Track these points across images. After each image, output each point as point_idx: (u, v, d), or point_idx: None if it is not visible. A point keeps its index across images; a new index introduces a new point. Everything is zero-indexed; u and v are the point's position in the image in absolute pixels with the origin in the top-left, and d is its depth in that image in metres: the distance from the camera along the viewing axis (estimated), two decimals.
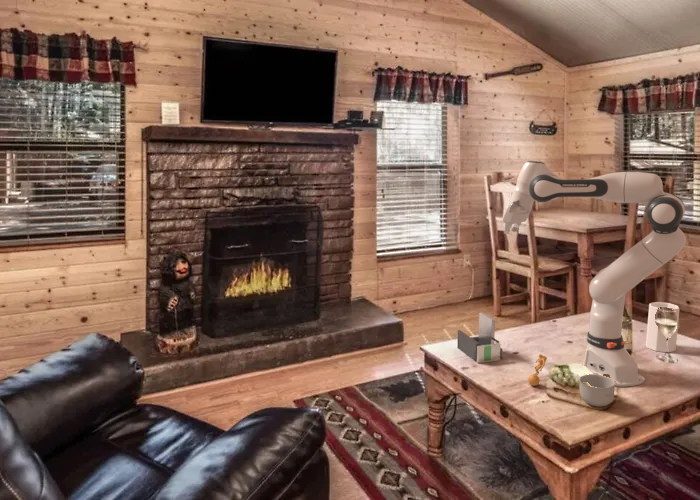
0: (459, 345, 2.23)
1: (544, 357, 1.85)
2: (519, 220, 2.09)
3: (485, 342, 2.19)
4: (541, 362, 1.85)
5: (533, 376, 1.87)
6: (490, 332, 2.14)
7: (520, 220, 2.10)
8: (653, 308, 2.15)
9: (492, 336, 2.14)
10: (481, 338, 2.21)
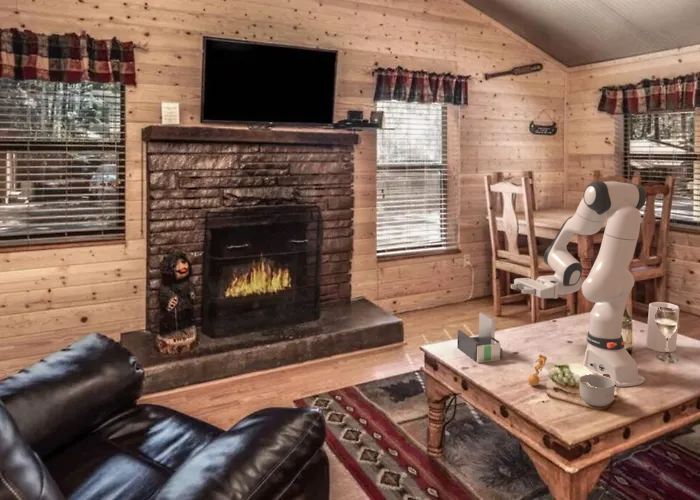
0: (459, 345, 2.23)
1: (544, 357, 1.85)
2: (529, 283, 2.20)
3: (485, 342, 2.19)
4: (541, 362, 1.85)
5: (533, 376, 1.87)
6: (490, 332, 2.14)
7: (531, 284, 2.18)
8: (653, 308, 2.15)
9: (492, 336, 2.14)
10: (481, 338, 2.21)
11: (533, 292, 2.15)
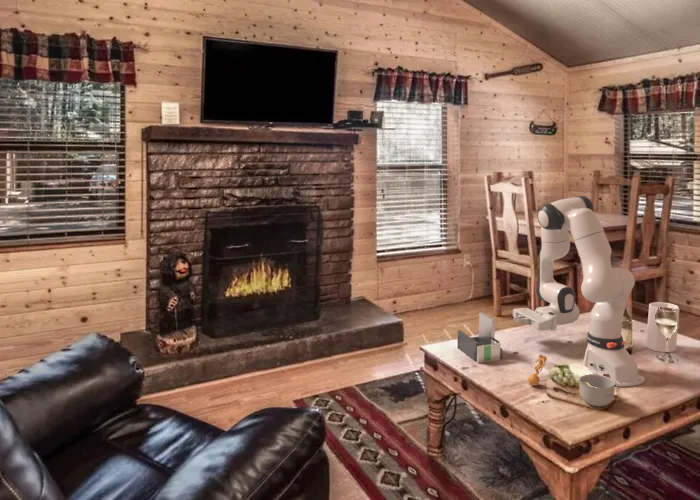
0: (459, 345, 2.23)
1: (544, 357, 1.85)
2: (528, 315, 2.22)
3: (485, 342, 2.19)
4: (541, 362, 1.85)
5: (533, 376, 1.87)
6: (490, 332, 2.14)
7: (529, 316, 2.21)
8: (653, 308, 2.15)
9: (492, 336, 2.14)
10: (481, 338, 2.21)
11: (527, 322, 2.20)
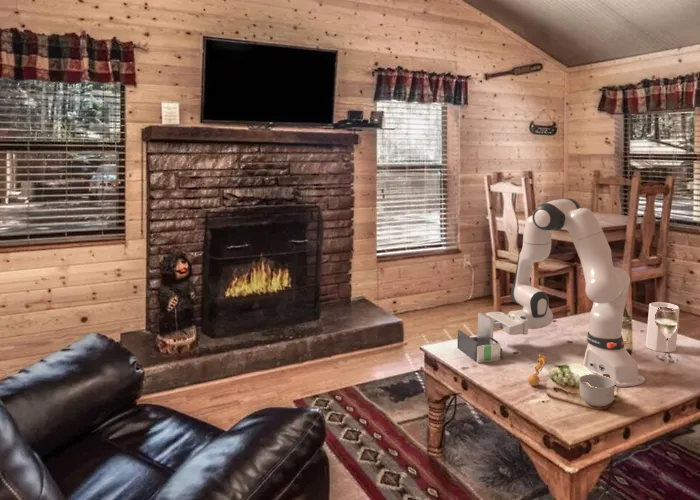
0: (459, 345, 2.23)
1: (544, 357, 1.85)
2: (499, 319, 2.19)
3: (484, 342, 2.18)
4: (541, 362, 1.85)
5: (533, 376, 1.87)
6: (489, 332, 2.13)
7: (501, 320, 2.18)
8: (653, 308, 2.15)
9: (491, 336, 2.14)
10: (480, 338, 2.21)
11: (499, 326, 2.17)
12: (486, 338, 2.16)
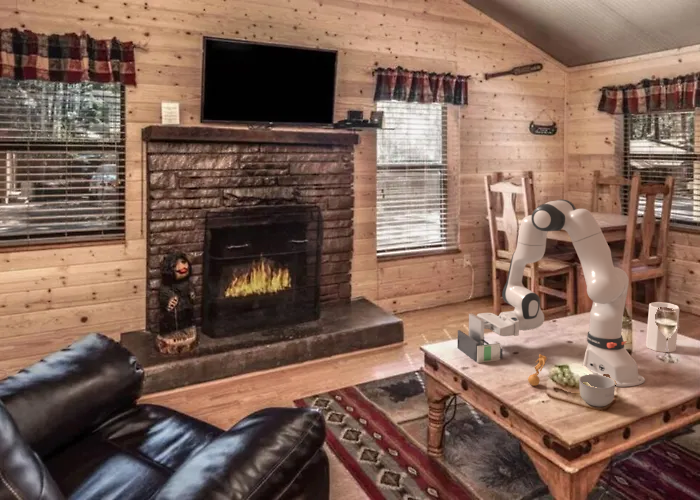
0: (459, 345, 2.23)
1: (544, 357, 1.85)
2: (490, 320, 2.18)
3: None
4: (541, 362, 1.85)
5: (533, 376, 1.87)
6: (480, 333, 2.12)
7: (492, 321, 2.17)
8: (653, 308, 2.15)
9: (481, 337, 2.12)
10: None
11: (489, 327, 2.16)
12: (477, 339, 2.15)
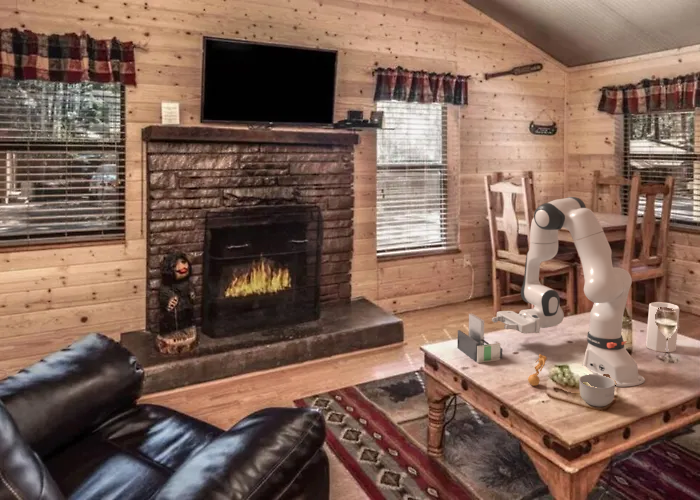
0: (459, 345, 2.23)
1: (544, 357, 1.85)
2: (511, 317, 2.20)
3: None
4: (541, 362, 1.85)
5: (533, 376, 1.87)
6: (480, 333, 2.12)
7: (513, 318, 2.19)
8: (653, 308, 2.15)
9: (481, 337, 2.12)
10: None
11: (516, 328, 2.14)
12: (477, 339, 2.15)
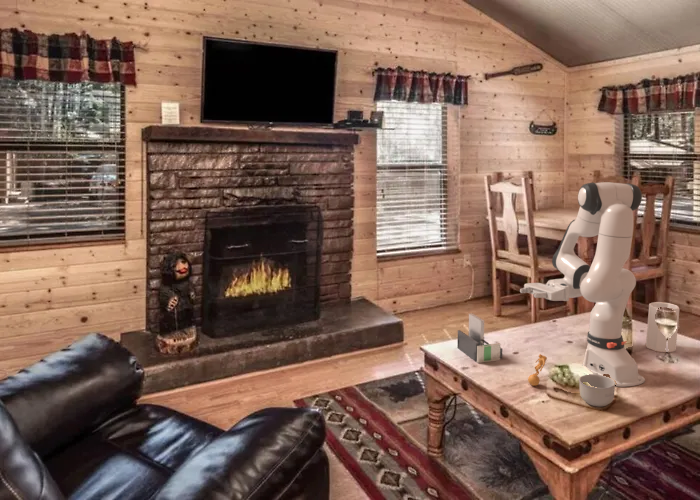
0: (459, 345, 2.23)
1: (544, 357, 1.85)
2: (539, 287, 2.21)
3: None
4: (541, 362, 1.85)
5: (533, 376, 1.87)
6: (480, 333, 2.12)
7: (541, 288, 2.20)
8: (653, 308, 2.15)
9: (481, 337, 2.12)
10: None
11: (545, 296, 2.15)
12: (477, 339, 2.15)
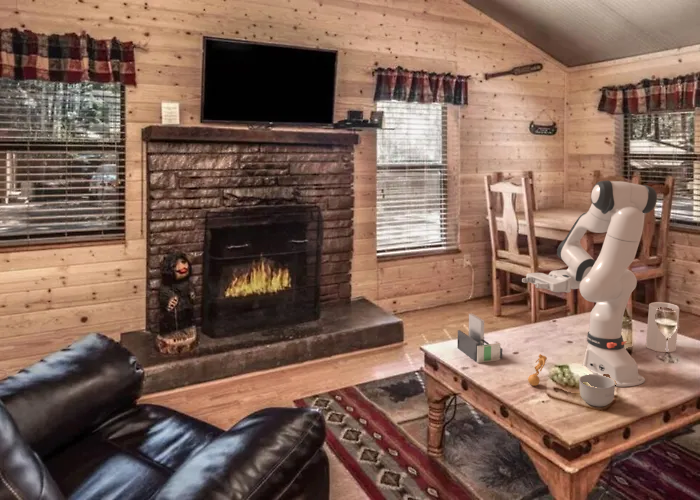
0: (459, 345, 2.23)
1: (544, 357, 1.85)
2: (542, 278, 2.21)
3: None
4: (541, 362, 1.85)
5: (533, 376, 1.87)
6: (480, 333, 2.12)
7: (543, 278, 2.20)
8: (653, 308, 2.15)
9: (481, 337, 2.12)
10: None
11: (547, 287, 2.15)
12: (477, 339, 2.15)
